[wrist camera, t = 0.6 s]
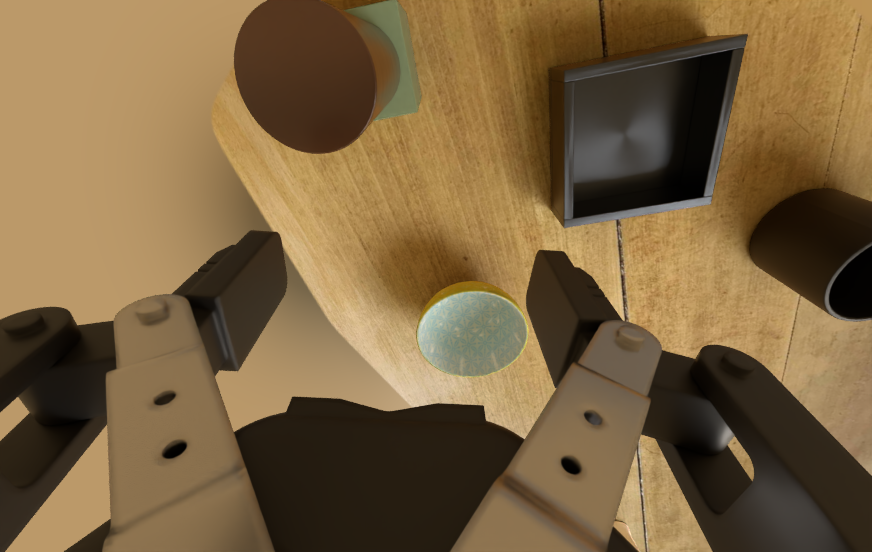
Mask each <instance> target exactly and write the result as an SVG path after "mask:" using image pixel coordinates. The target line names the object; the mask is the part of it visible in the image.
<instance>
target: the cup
mask: <svg viewBox="0 0 872 552" xmlns="http://www.w3.org/2000/svg"><path fill="white" fill-rule="evenodd" d="M613 526H614V527H615V528H616V529H617V530H618V531H619V532H620V533H621V534H622V535H623V536H624V537H625V538H626V539H627V540H628V541H629V542H630V543H631V544H632V545H633V546H634V547H635V548H636V549H637V550H638V551H639V549H638V547H637V545H636V544H635V542H634V540H633V538H632V536H631V532H630V530H629V527H628V526H627V525H626V524H625V523H623V522H619V521H614V525H613ZM639 552H640V551H639Z"/></svg>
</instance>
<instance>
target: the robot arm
mask: <svg viewBox="0 0 872 552" xmlns="http://www.w3.org/2000/svg"><path fill="white" fill-rule="evenodd" d="M286 288H287V272H286V266H285V260H284V253H283V247H282V241H281V237H280V235H279V233H278V232H269V231H254V230H251V231H249V232H248V233H247V234H246V235H245V236H244V237H243V238H242V239H241V240H240V241H239V242H238V243H237V244H236V245H231V246H229V247H227V248H225V249H223V250H221V251H219V252H216V253H215V254H214V255H213V256H212V257H211V258H210V259H209V260H208V261H207V263H206V264H204V265H203V266H201V267H200V268H199V269H198V272H195V273H194V274H193V275H192V276H191V277H190V278H188V279H187V280H186V281H185V282H184V283H183V284H182V285H181V286H180V287H179V288H178V289H177V290H175V291H174V292H173V293H172V294H163V295H155V296H151V297H147V298H143V299H141V300H138V301H135V302H133V303H131V304H129V305H127V306H126V307H125V308H123V309H122V310H121V311H119V312H118V313H117V315H116V316H115V318H114V321H108V322H100V323H93V324H86V325H77V324H76V322H75V320H74V319H73V317H72V315H71V313H70V312H69V311H68V310H67V309H64V308H60V307H43V308H37V309H31V310H27V311H23V312H20V313H16V314H13V315H10V316H8V317H5V318H3V319H1V320H0V412H1V411H2V410H3V409H4V408H6V407H7V406H8V405H9V404H10V403H11V402H12V401H13V400H15V399H16V397H19V398H20V400H21V401H22V403H23V404H24V405H25V407H26V408H27V409H28V411H29V412H30V413H29V414H28V415H27V416H26V417H25V418H24V419H23V420H22V421H21V422H20V423H19V424H18V425H17V426H16V427H15V428H14V429H12V430H11V431H10V432H9V433H8V434H7V435H6V436H5V437H4V438H3V439H2V440H1V441H0V552H5V551H6V550H7V548H8V547H9V546H10V545H11V543H12V542H13V541H14V539H15V538H16V537H17V536H18V535H19V533H20V532H21V531H22V530H23V528H24V527H25V526H26V525H27V523H28V522H29V521H30V519H31V518H32V517H33V516H34V515H35V513H36V512H37V511H38V510H39V508H40V507H41V506H42V505H43V503H44V502H45V501H46V500H47V498H48V497H49V496H50V495H51V493H52V492H53V491H54V490H55V488H56V487H57V486H58V485H59V483H60V482H61V481H62V480H63V478H64V477H65V476H66V475H67V473H68V472H69V471H70V470H71V468H72V467H73V466H74V465H75V463H76V462H77V461H78V460H79V458H80V457H81V456H82V455H83V453H84V452H85V451H86V450H87V448H88V447H89V446H90V445H91V443H92V442H93V441H94V440H95V438H96V437H97V436H98V435H99V433H100V432H101V431H102V429H103V428H104V427H105V426H106V425H107V426H108V427H107V428H108V456H109V483H110V512H111V519H109V520H108V521H107V522H105V523H104V524H102V525H101V526H100V527H98V528H97V529H95V530H94V531H93V532H91V533H90V534H88V535H87V536H85V537H84V538H82V539H81V540H80V541H78V542H77V543H76V544H74V545H73V546H71V547H70V548H68V549H67V550H66V551H64V552H639V551H638V550H637V549H636V548H635V547H634V546H633V545H632V544H631V543H630V542H629V541H628V540H627V539H626V538H625V537H624V536H623V535H622V534H621V533H620V532H619V531H618V530H617V529H616V528H615V527H614V526H613V525H614V521H615V518H616V515H617V511H618V508H619V505H620V501H621V498H622V495H623V492H624V488H625V485H626V482H627V478H628V475H629V472H630V469H631V465H632V462H633V459H634V455H635V452H636V449H637V446H638V442H639V439H640V436H641V434H642V435H645V436H648V437H652V438H655V439H656V441H657V443H658V445H659V447H660V449H661V451H662V453H663V455H664V457H665V459H666V461H667V463H668V465H669V466H670V468H671V470H672V472H673V474H674V476H675V478H676V480H677V482H678V484H679V486H680V488H681V490H682V492H683V494H684V496H685V498H686V500H687V502H688V504H689V506H690V508H691V510H692V512H693V514H694V516H695V518H696V520H697V522H698V524H699V526H700V528H701V530H702V531H703V533H704V535H705V537H706V539H707V541H708V543H709V545H710V547H711V549H712V551H713V552H872V476H871V475H870V474H869V473H868V472H867V471H866V470H865V469H864V468H863V467H862V466H861V465H860V463H859V462H858V461H857V460H856V459H855V458H854V457H853V456H852V455H851V454H850V453H849V452H848V451H847V450H846V449H845V448H844V447H843V446H842V445H841V444H840V443H839V442H838V441H837V440H836V439H835V438H834V437H833V436H832V435H831V434H830V433H829V432H828V431H827V430H826V429H825V428H824V427H823V426H822V425H821V423H820V422H819V421H818V420H817V419H816V418H815V417H814V416H813V415H812V414H811V413H810V412H809V411H808V410H807V409H806V408H805V407H804V406H803V405H802V404H801V403H800V402H799V401H798V400H797V399H796V398H795V397H794V396H793V395H792V394H791V393H790V392H789V391H788V390H787V389H786V388H785V387H784V386H783V385H782V383H781V382H780V381H779V380H778V379H777V378H776V377H775V376H774V375H773V374H772V373H771V372H770V371H769V370H768V369H767V368H766V367H765V366H764V365H762V364H761V363H760V362H758V361H757V360H755V359H754V358H752V357H751V356H749V355H747V354H745V353H743V352H741V351H738V350H736V349H733V348H730V347H726V346H721V345H707V346H704V347H703V348H702V349H701V350H700V352H699V354H698V355H697V357H696V359H693V358H689V357H685V356H682V355H678V354H674V353H670V352H666V351H663V350H662V347H661V344H660V342H659V341H658V339H657V338H656V337H655V336H654V335H653V334H651V333H650V332H649V331H647V330H646V329H644V328H642V327H640V326H638V325H636V324H633V323H630V322H626V321H623V320H622V319H621V317H620V316H619V315H618V313H617V312H616V310H615V309H614V307H613V306H612V305H611V303H610V302H609V300H608V299H607V297H605V295H604V293H603V292H602V290H601V289H599V286H598V285H597V283H596V282H595V280H594V279H593V278H592V276H590V275H589V274H587V273H586V272H585V271H583V270H582V269H580V268H577V267H574V266H573V264H572V263H571V261H570V260H569V258H568V256H567V255H566V253H565V252H563V251H550V250H539V251H538V252H537V254H536V257H535V261H534V265H533V269H532V273H531V277H530V282H529V286H528V290H527V295H526V307H527V311H528V314H529V317H530V320H531V322H532V325H533V328H534V331H535V334H536V336H537V339H538V342H539V345H540V347H541V350H542V353H543V356H544V358H545V361H546V364H547V367H548V370H549V372H550V375H551V378H552V381H553V383H554V386H555V388H557V389H556V390H555V392H554V393H553V395H552V397H551V398H550V400H549V401H548V403H547V405H546V406H545V408H544V409H543V411H542V413H541V414H540V416H539V417H538V419H537V421H536V422H535V424H534V425H533V427H532V429H531V430H530V432H529V434H528V435H527V437H526V438H525V439H523V438H522V437H520V436H518V435H517V434H515V433H514V432H512V431H510V430H508V429H506V428H504V427H502V426H499V425H497V424H494V423H491V422H488V421H486V418H485V411H484V406H483V405H461V404H440V403H437V404H431V405H425V406H420V407H414V408H408V409H403V410H396V411H382V410H378V409H375V408H372V407H368V406H364V405H360V404H357V403H353V402H350V401H346V400H343V399H331V398H311V397H292V399H291V402H290V404H289V406H288V409H287V411H286V412H285V413H280V414H276V415H272V416H269V417H266V418H263V419H260V420H257V421H255V422H253V423H250V424H248V425H246V426H244V427H242V428H241V429H239V430H237V431H235V432H233V429H232V426H231V423H230V420H229V417H228V414H227V411H226V409H225V405H224V402H223V400H222V397H221V394H220V391H219V388H218V385H217V382H216V379H215V376H216V374H217V373H218V371H219V370H225V371H238V370H239V369H240V367H241V366H242V364H243V362H244V361H245V359H246V357H247V356H248V354H249V352H250V351H251V349H252V348H253V346H254V344H255V343H256V341H257V339H258V338H259V336H260V334H261V333H262V331H263V329H264V328H265V326H266V324H267V323H268V321H269V320H270V318H271V316H272V315H273V313H274V312H275V310H276V308H277V307H278V305H279V303H280V302H281V300H282V298H283V297H284V295H285V292H286ZM734 436H735V437H736V438H737V440H738V441H739V442H740V444H741V445H742V447H743V448H744V449H745V451H746V452H747V454H748V455H749V457H750V459H751V461H752V463H753V467H754V479H753V482H752V481H751V479H750V478H749V476H748V475H747V473H746V472H745V470H744V469H743V467H742V466H741V464H740V463H739V462H738V460H737V459H736V457H735V456H734V454H733V453H732V451H731V450H730V448H729V447H728V443H729V442H730V441H731V440H732V438H733V437H734Z"/></svg>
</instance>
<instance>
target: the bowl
mask: <svg viewBox="0 0 872 552" xmlns="http://www.w3.org/2000/svg"><path fill="white" fill-rule="evenodd" d="M416 338H417V344H418V347H419V350H420V352H421V353H422V355H423V356H424V358H425V359H426V360H427V361H428V362H429V363H430V364H431V365H432V366H434V367H435V368H437V369H439V370H440V371H443V372H445V373H447V374H451V375H454V376H459V377H480V376H486V375H490V374H493V373H496V372H498V371H500V370H502V369H504V368H506V367H507V366H509V365H510V364H512V363H513V362H514V361H515V360H516V359H517V358H518V357H519V356H520V354H521V353H522V352H523V350H524V348H525V346H526V343H527V339H528V324H527V321H526V318H525V316H524V314H523V312H522V310H521V309H520V307H519V306H518V304H517V303H516V302H515V301H514V300H513V299H512V297H511V296H509V295H508V294H507V293H506V292H504V291H503V290H501V289H500V288H498V287H496V286H494V285H491V284H488V283H484V282H477V281H465V282H459V283H455V284H453V285H450V286H448V287H446V288H444V289H442V290H441V291H439V292H438V293H437V294H436V295H434V296H433V297H432V299H431V300H430V301H429V302H428V303H427V305H426V306H425V308H424V310H423V312H422V313H421V316H420V318H419V322H418V326H417V331H416Z"/></svg>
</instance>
